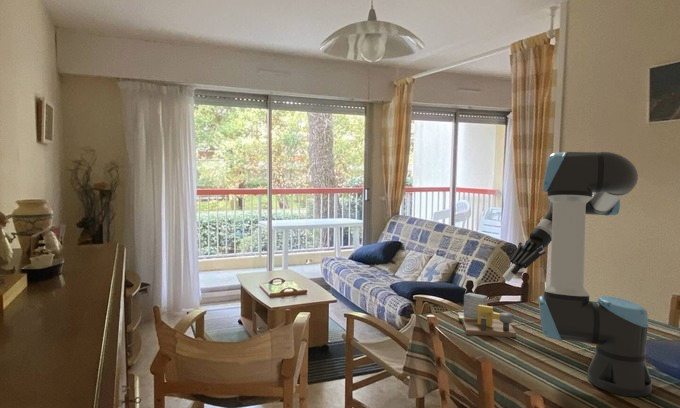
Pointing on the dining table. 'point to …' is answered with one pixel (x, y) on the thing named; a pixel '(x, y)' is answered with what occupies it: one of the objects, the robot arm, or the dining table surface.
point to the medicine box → (473, 304)
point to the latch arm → (492, 315)
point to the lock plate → (486, 327)
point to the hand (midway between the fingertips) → (505, 278)
